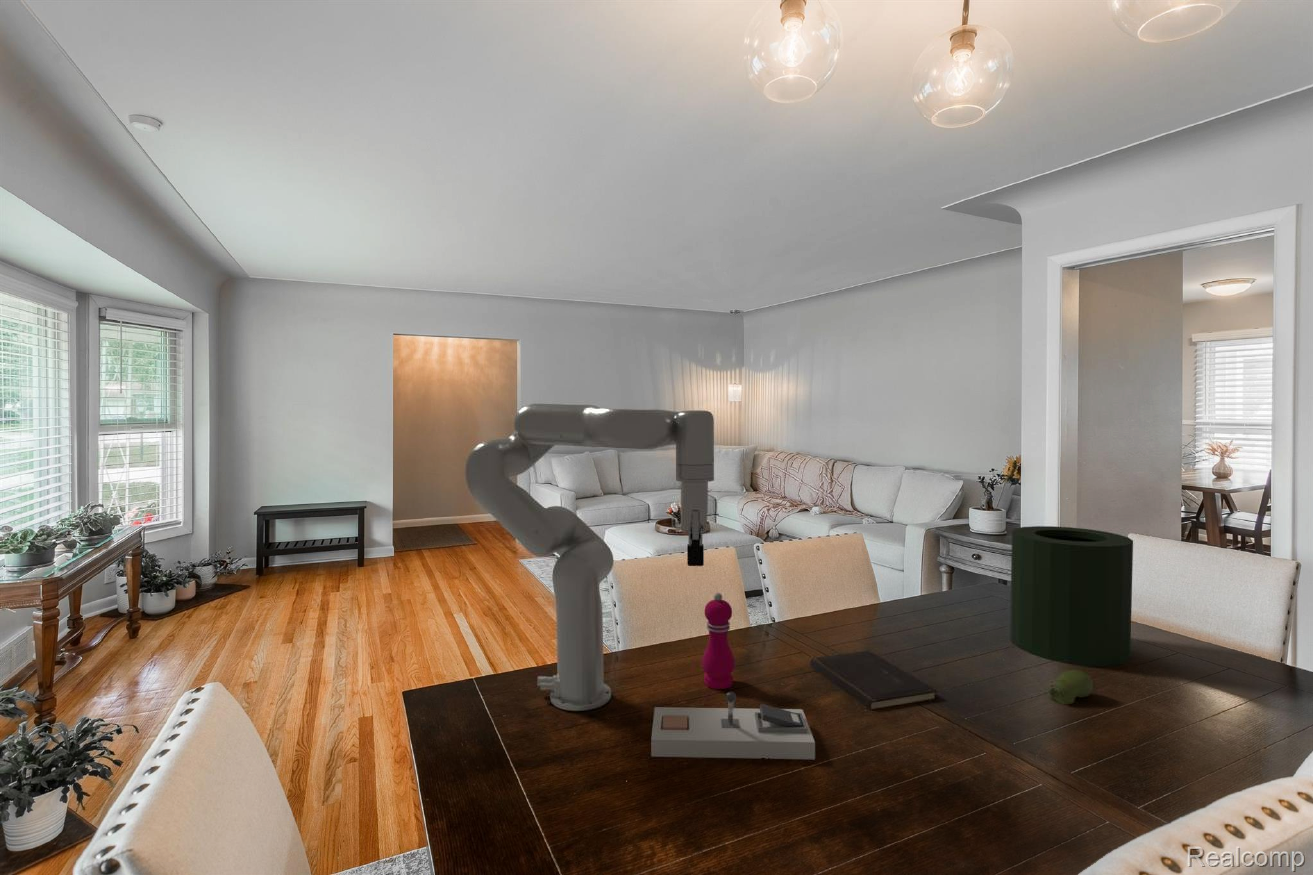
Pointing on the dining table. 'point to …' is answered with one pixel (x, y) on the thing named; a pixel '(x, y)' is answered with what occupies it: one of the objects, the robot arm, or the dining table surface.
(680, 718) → the push button
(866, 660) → the hardcover book
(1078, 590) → the flower pot
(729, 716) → the toggle lever
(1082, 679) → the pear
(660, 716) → the control panel
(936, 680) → the dining table surface
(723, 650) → the pepper mill
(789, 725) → the panel
